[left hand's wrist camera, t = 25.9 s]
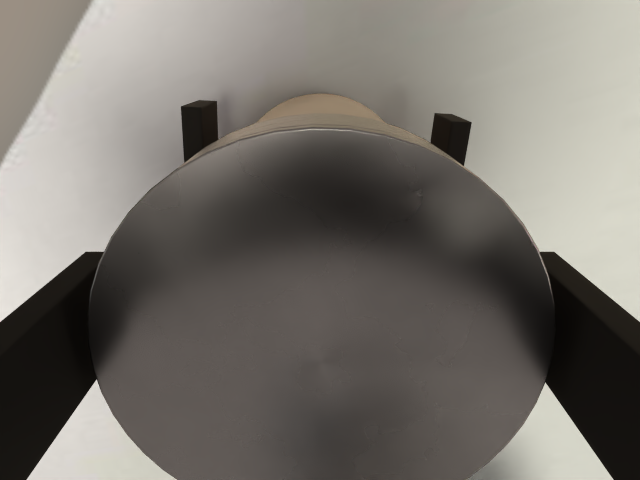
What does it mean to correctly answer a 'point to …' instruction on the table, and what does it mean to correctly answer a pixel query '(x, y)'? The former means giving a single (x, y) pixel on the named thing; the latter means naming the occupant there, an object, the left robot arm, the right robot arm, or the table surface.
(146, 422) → the lid
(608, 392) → the left robot arm
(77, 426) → the table surface
